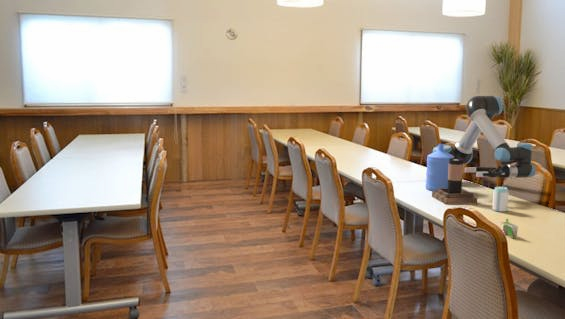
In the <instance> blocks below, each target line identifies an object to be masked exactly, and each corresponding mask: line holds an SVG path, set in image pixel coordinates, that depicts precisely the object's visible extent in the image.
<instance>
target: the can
mask: <svg viewBox="0 0 565 319" xmlns="http://www.w3.org/2000/svg"><path fill="white" fill-rule="evenodd" d="M508 204H509V190H508V187H505V186H495V187H494V189H493V195H492V208H491V209H492V211H494V212H498V213H505V212H506V211H508V207H509V206H508Z"/></svg>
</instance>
